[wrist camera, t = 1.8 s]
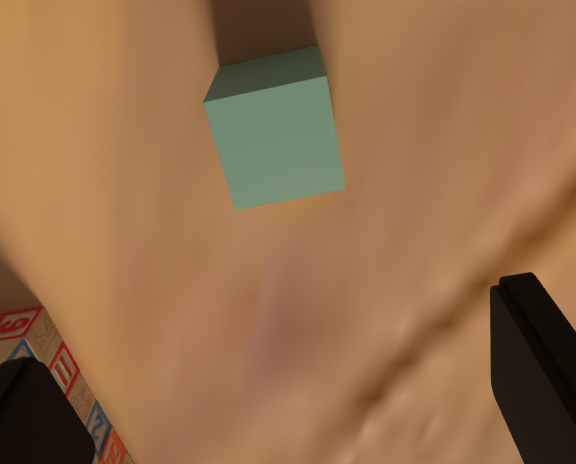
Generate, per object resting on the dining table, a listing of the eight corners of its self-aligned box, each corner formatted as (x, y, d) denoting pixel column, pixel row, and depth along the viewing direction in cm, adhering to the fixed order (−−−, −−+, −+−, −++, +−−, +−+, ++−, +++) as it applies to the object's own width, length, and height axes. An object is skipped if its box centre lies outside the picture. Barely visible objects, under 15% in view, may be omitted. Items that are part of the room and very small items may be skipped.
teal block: (317, 44, 25) (326, 75, 20) (334, 139, 27) (345, 188, 22) (219, 66, 25) (202, 102, 20) (244, 157, 28) (235, 210, 23)
